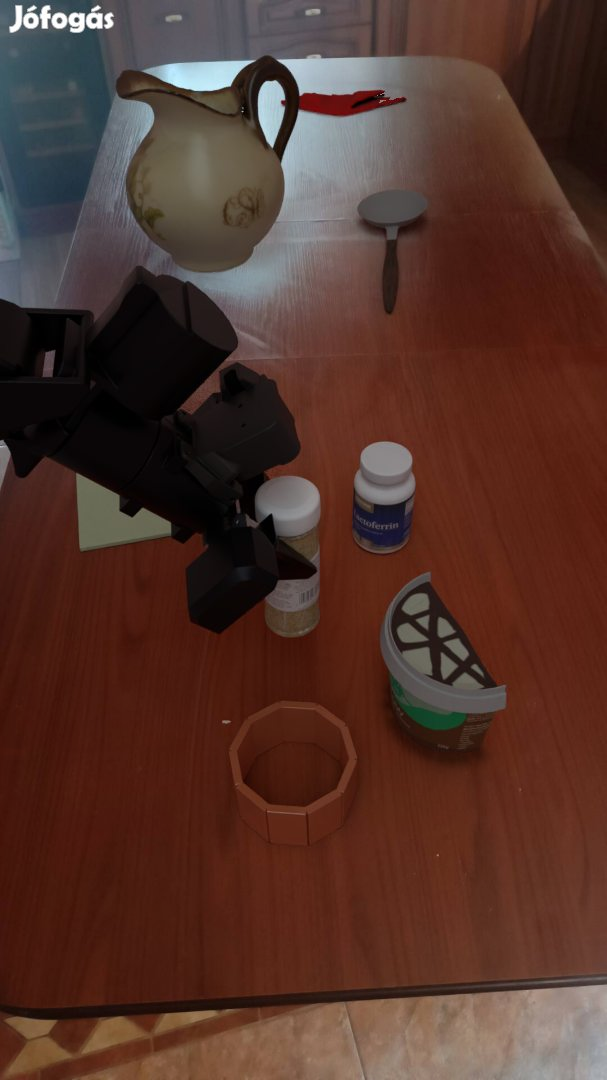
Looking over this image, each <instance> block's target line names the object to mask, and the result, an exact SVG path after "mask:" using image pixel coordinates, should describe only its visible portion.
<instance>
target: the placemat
mask: <svg viewBox="0 0 607 1080" xmlns="http://www.w3.org/2000/svg"><path fill="white" fill-rule="evenodd" d="M75 478H76V479H75V480H76V481H75V482H76V501H77V502H76V503H77V522H78V546H79V551H80V552H81V553H82V552H86V551H92V550H99V549H103V548H109V547H115V546H120V545H126V544H133V543H138V542H144V541H149V540H154V539H160V538H167V537H171V522H169V521H167V520H165V519H163V518H161V517H159V516H157V515H155V514H154V513H152V512H150V511H148V510H146V509H144V508H142V509H141V510H140V511H139V512H138V513H137V514H136V515H135V516H134V517H133V518H132V517H130V516H128V515H126V514H124V513H122V512H120V511H119V495H118V494H116V493H114V492H112V491H110V490H108V489H106V488H104V487H102V486H100V485H99V484H97V483H95V482H93V481H91V480H89V479H87V478H85V477H83V476H81V475H80V474H78V473H76V472H75Z"/></svg>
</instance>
